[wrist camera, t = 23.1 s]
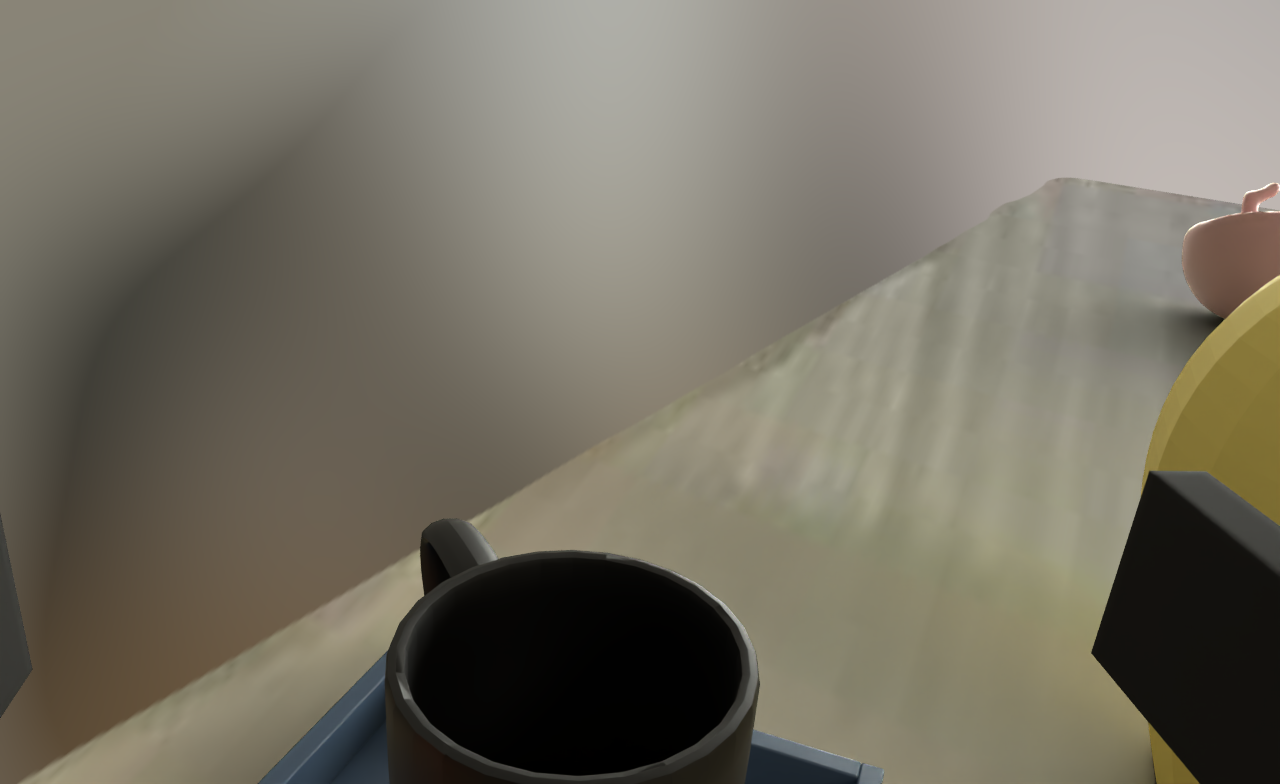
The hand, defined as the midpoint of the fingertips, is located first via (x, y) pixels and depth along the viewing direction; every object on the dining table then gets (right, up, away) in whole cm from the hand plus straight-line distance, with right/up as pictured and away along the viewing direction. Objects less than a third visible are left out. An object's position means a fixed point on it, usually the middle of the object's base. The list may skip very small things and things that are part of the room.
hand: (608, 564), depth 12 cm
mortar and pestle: (+51, +8, +72) cm, 89 cm away
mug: (-3, -12, +16) cm, 20 cm away
